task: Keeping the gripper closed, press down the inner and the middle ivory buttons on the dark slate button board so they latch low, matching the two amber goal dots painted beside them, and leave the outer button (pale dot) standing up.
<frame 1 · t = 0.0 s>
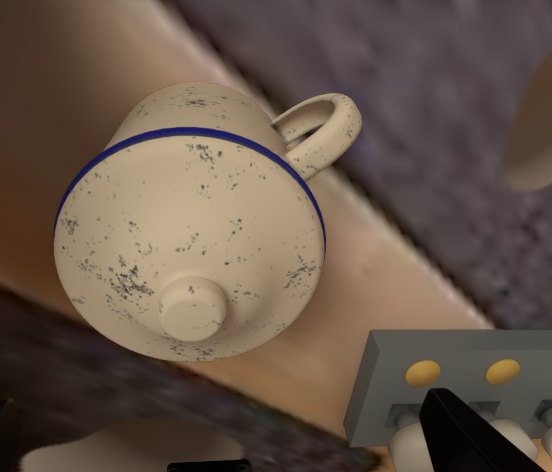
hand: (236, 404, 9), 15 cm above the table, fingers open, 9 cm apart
teacup with lid: (224, 150, 22), on the table
button inner: (416, 441, 29), point 4 cm above the table, slide at 0.0 cm
board: (472, 378, 33), on the table
button middle: (494, 437, 30), point 4 cm above the table, slide at 0.0 cm
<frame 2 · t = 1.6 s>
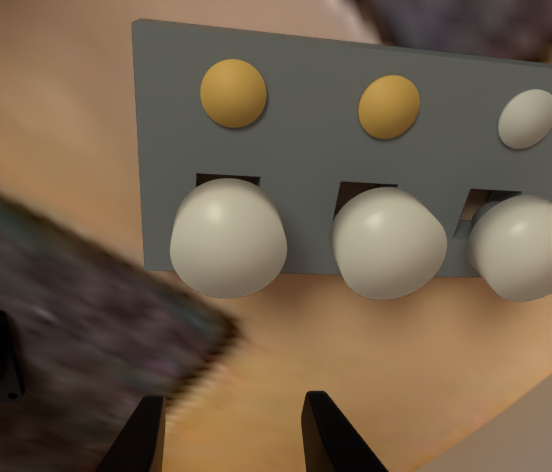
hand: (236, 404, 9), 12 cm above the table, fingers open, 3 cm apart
button outer: (512, 238, 18), point 4 cm above the table, slide at 0.0 cm
button inner: (228, 227, 16), point 4 cm above the table, slide at 0.0 cm
board: (357, 161, 20), on the table
button middle: (378, 233, 17), point 4 cm above the table, slide at 0.0 cm
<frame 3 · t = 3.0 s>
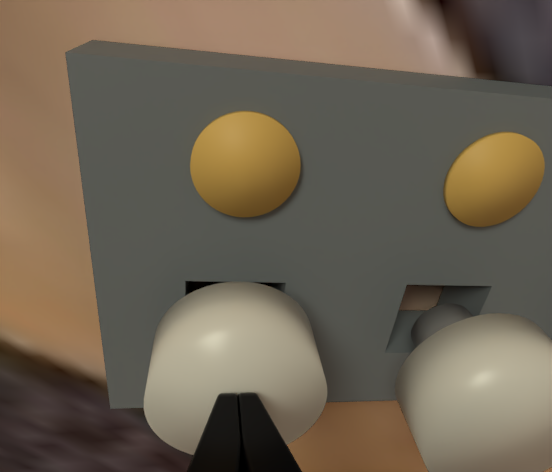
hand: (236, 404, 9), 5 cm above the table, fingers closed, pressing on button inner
button inner: (234, 346, 11), point 3 cm above the table, slide at -1.1 cm, touching gripper
board: (422, 242, 14), on the table
button middle: (472, 374, 11), point 4 cm above the table, slide at 0.0 cm
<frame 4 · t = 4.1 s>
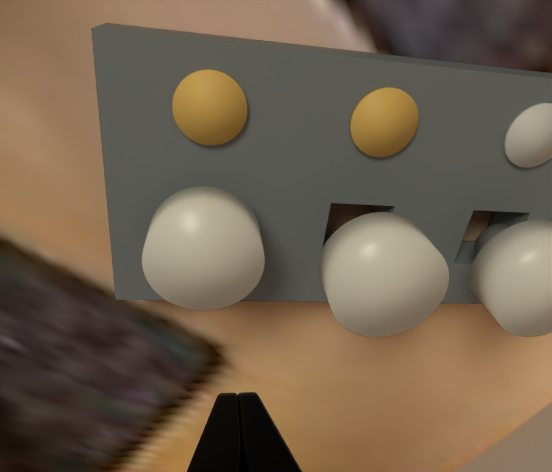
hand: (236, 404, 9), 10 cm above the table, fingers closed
button outer: (520, 265, 16), point 4 cm above the table, slide at 0.0 cm
button inner: (205, 236, 16), point 3 cm above the table, slide at -1.4 cm
board: (350, 179, 18), on the table
button middle: (372, 261, 15), point 4 cm above the table, slide at 0.0 cm
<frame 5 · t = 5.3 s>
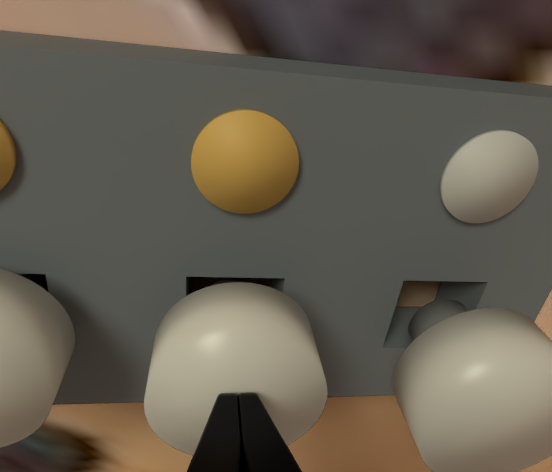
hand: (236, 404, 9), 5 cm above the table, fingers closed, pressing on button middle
button outer: (467, 368, 11), point 4 cm above the table, slide at 0.0 cm
board: (234, 233, 13), on the table
button middle: (235, 346, 11), point 3 cm above the table, slide at -0.9 cm, touching gripper
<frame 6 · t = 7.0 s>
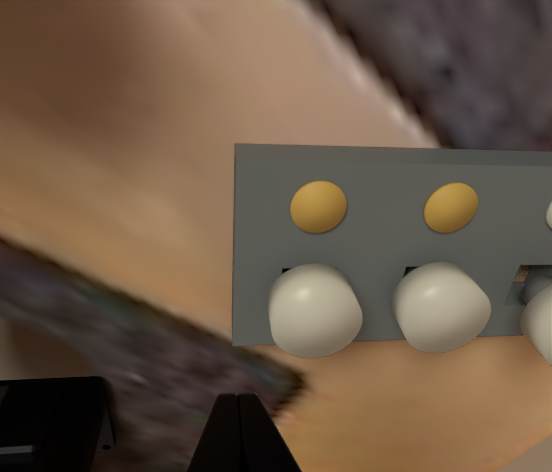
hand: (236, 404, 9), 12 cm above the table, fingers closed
button inner: (309, 299, 20), point 3 cm above the table, slide at -1.4 cm
board: (416, 241, 22), on the table
button middle: (431, 296, 21), point 3 cm above the table, slide at -1.4 cm
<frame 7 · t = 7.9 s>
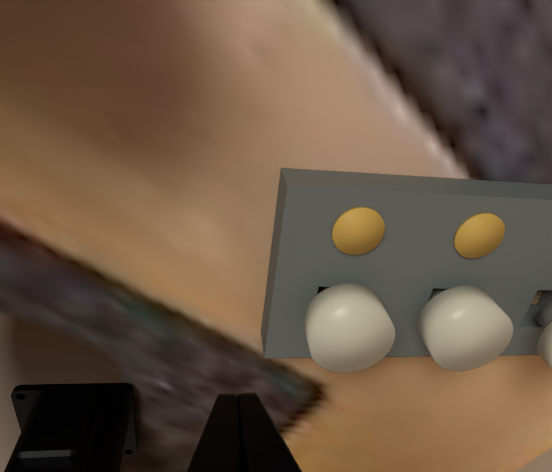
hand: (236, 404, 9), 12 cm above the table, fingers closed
button inner: (342, 316, 21), point 3 cm above the table, slide at -1.4 cm
board: (440, 263, 24), on the table
button middle: (455, 317, 22), point 3 cm above the table, slide at -1.4 cm
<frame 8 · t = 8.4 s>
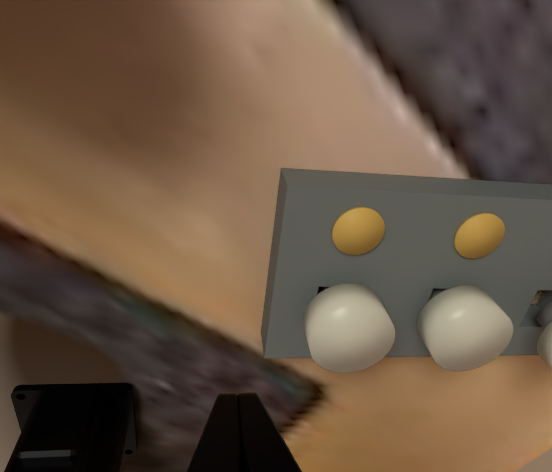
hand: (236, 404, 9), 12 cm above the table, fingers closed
button inner: (342, 316, 21), point 3 cm above the table, slide at -1.4 cm
board: (440, 263, 24), on the table
button middle: (455, 317, 22), point 3 cm above the table, slide at -1.4 cm
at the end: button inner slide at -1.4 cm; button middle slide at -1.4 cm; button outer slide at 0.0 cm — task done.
